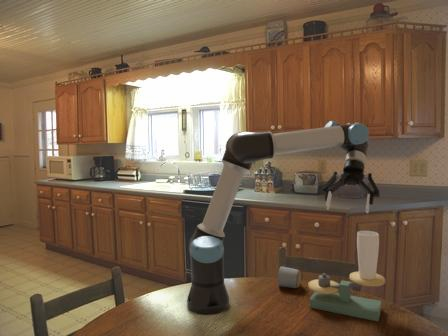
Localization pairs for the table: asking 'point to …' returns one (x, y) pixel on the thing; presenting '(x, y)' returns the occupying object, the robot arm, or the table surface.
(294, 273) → the ceramic mug
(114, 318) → the table surface
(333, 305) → the balance
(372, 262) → the white cup
